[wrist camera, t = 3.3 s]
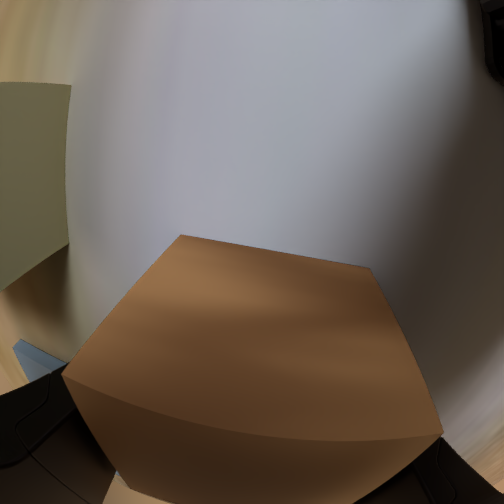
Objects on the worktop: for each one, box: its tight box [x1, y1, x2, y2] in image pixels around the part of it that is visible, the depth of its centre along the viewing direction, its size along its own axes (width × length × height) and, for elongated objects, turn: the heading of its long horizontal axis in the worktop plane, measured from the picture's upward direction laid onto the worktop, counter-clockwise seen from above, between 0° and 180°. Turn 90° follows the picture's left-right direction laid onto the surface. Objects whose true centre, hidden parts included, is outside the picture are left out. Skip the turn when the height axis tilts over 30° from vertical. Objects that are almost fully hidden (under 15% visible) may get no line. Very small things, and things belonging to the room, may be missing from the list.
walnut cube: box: [61, 235, 444, 504], centre depth 6 cm, size 5×5×5 cm
